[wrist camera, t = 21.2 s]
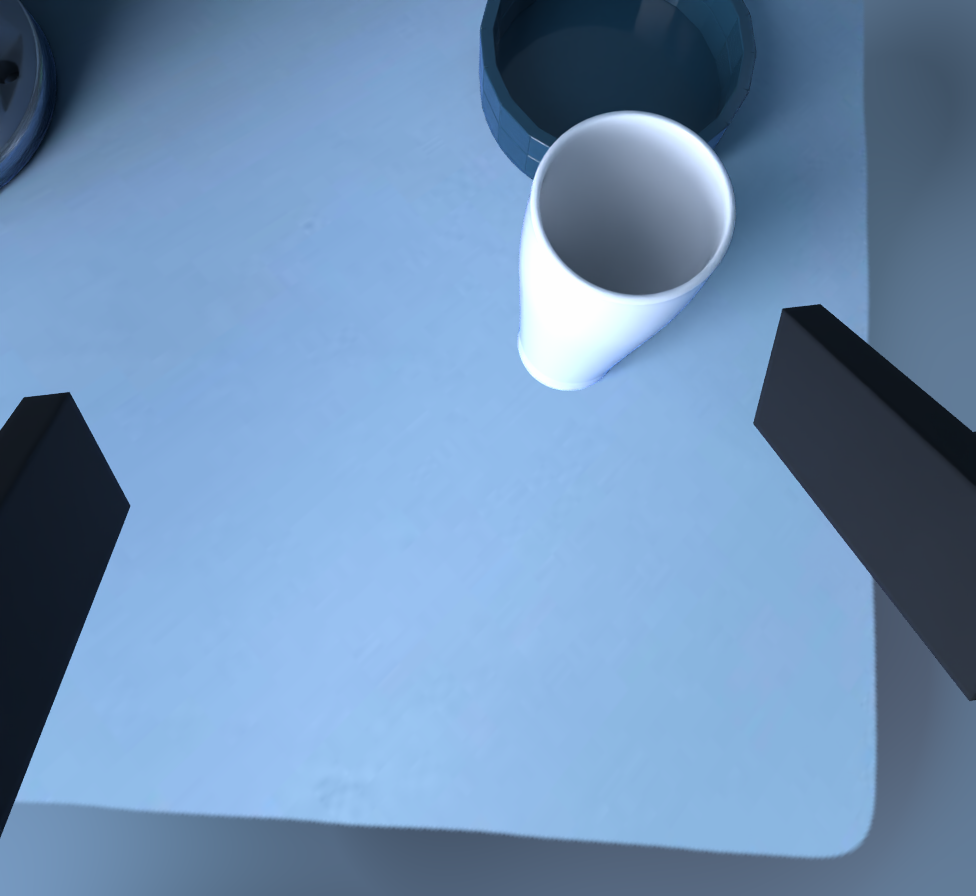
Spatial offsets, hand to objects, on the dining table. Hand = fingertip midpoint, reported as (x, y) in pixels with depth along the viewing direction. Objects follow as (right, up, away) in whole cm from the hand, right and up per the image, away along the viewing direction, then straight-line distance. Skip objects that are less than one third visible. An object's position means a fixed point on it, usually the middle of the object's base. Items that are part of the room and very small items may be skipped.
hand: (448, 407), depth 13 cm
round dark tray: (+7, +20, +25) cm, 33 cm away
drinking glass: (+5, +5, +23) cm, 24 cm away
